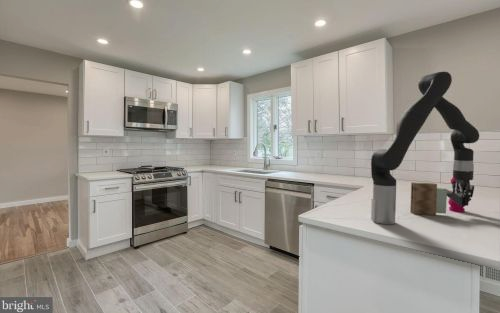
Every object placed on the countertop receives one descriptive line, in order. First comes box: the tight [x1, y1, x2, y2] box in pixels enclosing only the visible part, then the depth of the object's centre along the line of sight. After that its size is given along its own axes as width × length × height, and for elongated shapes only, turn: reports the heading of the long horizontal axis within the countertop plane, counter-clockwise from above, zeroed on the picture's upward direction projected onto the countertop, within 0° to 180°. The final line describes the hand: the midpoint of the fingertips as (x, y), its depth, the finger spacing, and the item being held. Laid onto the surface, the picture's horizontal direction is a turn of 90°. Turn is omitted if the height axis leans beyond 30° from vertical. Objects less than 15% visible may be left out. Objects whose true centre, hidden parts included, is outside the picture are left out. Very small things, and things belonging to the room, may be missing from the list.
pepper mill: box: [447, 177, 466, 213], centre depth 128 cm, size 7×7×20 cm
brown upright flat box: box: [409, 181, 438, 216], centre depth 123 cm, size 10×4×16 cm, turn 75°
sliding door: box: [436, 187, 448, 215], centre depth 122 cm, size 12×1×12 cm, turn 75°
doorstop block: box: [447, 189, 472, 208], centre depth 119 cm, size 8×5×5 cm
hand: (461, 203), depth 118 cm, fingers closed on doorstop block, 5 cm apart
